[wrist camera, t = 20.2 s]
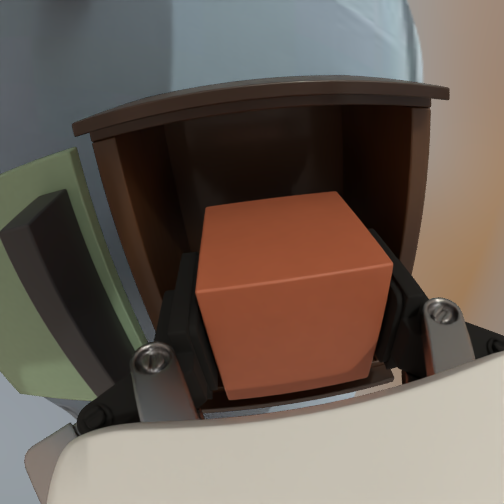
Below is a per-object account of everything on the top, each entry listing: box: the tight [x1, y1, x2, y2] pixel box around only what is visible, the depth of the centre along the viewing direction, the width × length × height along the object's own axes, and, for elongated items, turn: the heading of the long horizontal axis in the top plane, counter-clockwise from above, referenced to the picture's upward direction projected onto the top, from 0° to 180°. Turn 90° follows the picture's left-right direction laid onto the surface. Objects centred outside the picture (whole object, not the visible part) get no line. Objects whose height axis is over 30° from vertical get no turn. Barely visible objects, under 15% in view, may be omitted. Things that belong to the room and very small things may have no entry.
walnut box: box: [72, 75, 449, 413], centre depth 14 cm, size 14×11×9 cm
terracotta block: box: [195, 191, 393, 400], centre depth 11 cm, size 5×5×5 cm
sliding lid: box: [0, 147, 148, 401], centre depth 10 cm, size 12×11×3 cm
